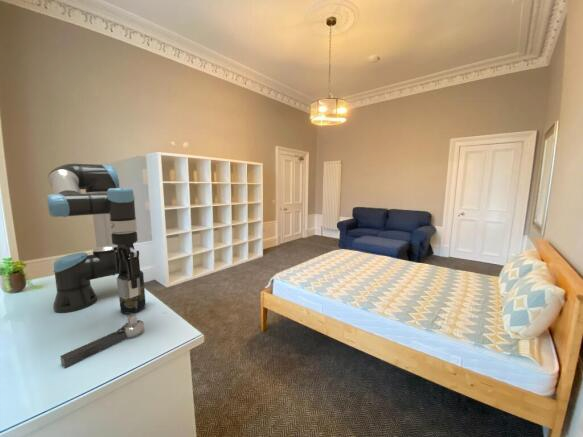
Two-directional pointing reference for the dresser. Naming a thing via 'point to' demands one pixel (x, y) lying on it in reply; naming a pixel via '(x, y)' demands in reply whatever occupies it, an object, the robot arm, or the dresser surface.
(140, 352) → the dresser surface
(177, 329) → the dresser surface
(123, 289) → the socket
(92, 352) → the ratchet
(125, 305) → the canister
